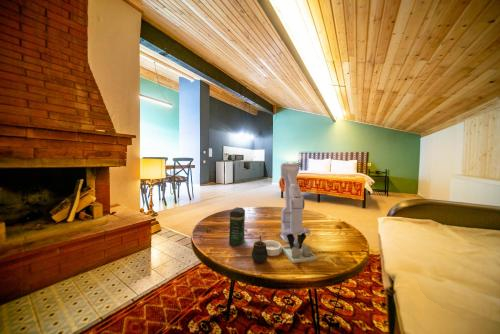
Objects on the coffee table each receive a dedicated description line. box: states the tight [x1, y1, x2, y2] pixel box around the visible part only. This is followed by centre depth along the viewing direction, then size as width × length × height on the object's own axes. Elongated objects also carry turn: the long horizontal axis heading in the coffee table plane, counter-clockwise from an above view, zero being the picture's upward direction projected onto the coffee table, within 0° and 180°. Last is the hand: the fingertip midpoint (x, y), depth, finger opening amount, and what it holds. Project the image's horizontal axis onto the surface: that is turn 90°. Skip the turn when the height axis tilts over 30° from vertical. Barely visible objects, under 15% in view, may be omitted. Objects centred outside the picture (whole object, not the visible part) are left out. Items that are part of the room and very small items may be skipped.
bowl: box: [263, 239, 283, 257], centre depth 94 cm, size 10×10×3 cm
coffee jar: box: [228, 207, 246, 246], centre depth 102 cm, size 10×8×19 cm
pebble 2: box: [302, 245, 312, 258], centre depth 88 cm, size 4×4×4 cm
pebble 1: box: [292, 247, 300, 259], centre depth 86 cm, size 4×4×4 cm
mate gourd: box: [251, 235, 269, 264], centre depth 84 cm, size 7×8×10 cm
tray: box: [282, 243, 318, 264], centre depth 90 cm, size 13×12×2 cm
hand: (295, 248), depth 93 cm, fingers closed on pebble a, 4 cm apart
